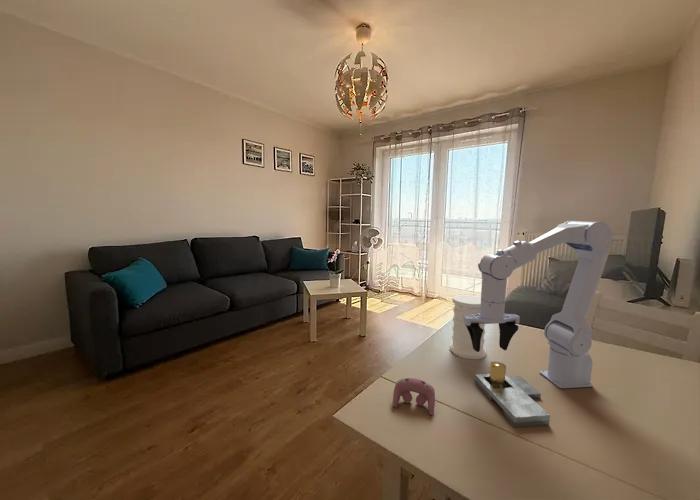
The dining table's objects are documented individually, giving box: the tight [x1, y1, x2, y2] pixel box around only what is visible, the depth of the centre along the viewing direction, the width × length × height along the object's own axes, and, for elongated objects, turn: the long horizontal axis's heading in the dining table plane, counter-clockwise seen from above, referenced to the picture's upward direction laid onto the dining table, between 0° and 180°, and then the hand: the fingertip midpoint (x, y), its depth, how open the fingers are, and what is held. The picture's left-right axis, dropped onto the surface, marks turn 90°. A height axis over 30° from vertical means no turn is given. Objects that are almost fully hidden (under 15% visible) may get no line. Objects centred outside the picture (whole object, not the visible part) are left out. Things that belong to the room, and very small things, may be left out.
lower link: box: [474, 375, 542, 402], centre depth 77 cm, size 13×8×1 cm, turn 95°
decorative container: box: [449, 294, 487, 360], centre depth 98 cm, size 12×12×18 cm
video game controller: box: [392, 377, 436, 416], centre depth 71 cm, size 10×5×7 cm, turn 71°
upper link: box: [474, 373, 551, 428], centre depth 72 cm, size 8×17×2 cm, turn 5°
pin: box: [489, 360, 507, 388], centre depth 77 cm, size 4×4×7 cm
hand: (489, 349), depth 78 cm, fingers open, 7 cm apart
